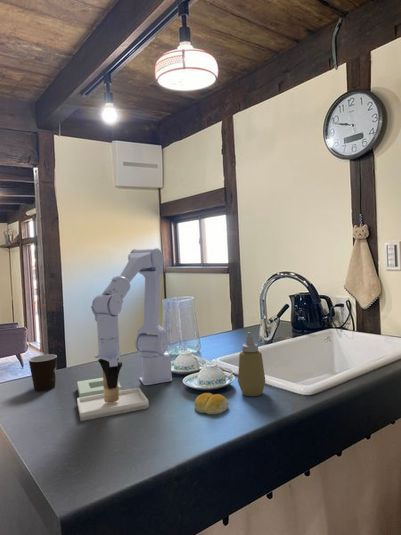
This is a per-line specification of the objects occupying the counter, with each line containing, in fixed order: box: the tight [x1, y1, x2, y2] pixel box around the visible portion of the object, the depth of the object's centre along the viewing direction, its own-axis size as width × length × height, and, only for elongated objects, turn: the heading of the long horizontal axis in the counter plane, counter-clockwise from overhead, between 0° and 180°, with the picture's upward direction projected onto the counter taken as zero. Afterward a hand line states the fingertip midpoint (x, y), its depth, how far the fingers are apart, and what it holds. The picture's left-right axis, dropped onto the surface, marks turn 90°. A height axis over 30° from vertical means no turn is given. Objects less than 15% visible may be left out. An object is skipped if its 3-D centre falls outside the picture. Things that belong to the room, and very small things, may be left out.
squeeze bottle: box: [237, 331, 266, 397], centre depth 114 cm, size 8×8×18 cm
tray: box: [76, 387, 150, 422], centre depth 109 cm, size 18×12×2 cm, turn 111°
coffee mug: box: [28, 354, 58, 393], centre depth 129 cm, size 12×9×10 cm
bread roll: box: [194, 392, 230, 415], centre depth 104 cm, size 8×9×4 cm
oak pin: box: [102, 370, 119, 402], centre depth 109 cm, size 4×4×8 cm
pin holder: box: [76, 377, 122, 398], centre depth 121 cm, size 12×12×2 cm
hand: (111, 385), depth 109 cm, fingers closed on oak pin, 4 cm apart
